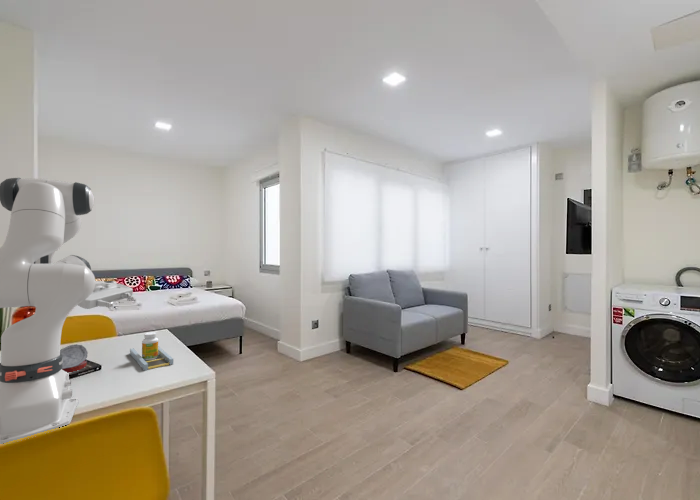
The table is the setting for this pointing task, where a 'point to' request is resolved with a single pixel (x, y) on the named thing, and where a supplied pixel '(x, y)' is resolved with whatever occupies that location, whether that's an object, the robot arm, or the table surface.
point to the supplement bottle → (150, 346)
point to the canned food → (73, 358)
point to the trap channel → (152, 364)
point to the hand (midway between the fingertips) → (122, 302)
